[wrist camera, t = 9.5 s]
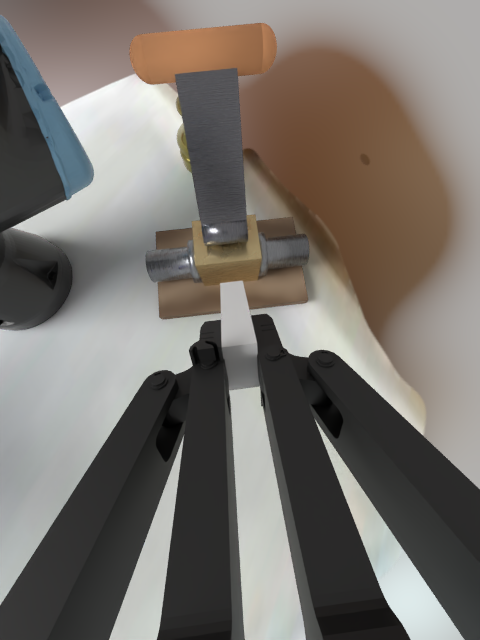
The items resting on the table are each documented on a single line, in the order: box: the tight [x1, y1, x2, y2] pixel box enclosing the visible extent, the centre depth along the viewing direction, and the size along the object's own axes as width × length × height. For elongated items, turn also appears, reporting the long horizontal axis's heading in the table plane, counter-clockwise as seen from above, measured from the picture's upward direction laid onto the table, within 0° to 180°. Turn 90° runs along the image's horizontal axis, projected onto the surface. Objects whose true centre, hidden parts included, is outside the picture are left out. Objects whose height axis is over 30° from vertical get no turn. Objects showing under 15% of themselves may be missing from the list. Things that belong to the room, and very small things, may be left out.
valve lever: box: [130, 23, 277, 246], centre depth 22 cm, size 3×12×16 cm
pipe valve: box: [146, 215, 309, 319], centre depth 32 cm, size 14×22×8 cm, turn 97°
